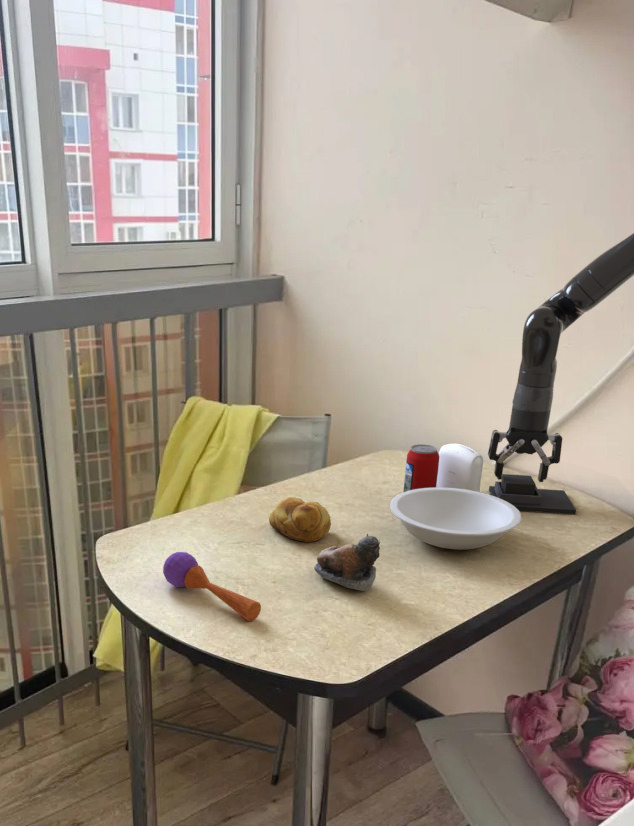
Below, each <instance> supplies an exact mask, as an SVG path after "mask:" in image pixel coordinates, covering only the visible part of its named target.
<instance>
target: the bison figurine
mask: <svg viewBox="0 0 634 826" xmlns="http://www.w3.org/2000/svg"><path fill="white" fill-rule="evenodd" d="M380 545H381V539H378V537H376V536H373V535H369V534H368V533H367V534H366V535H365V536H364V537H362V538H361V539H359V540H358V543H357V544H354V543H348V544H347V543H346V544H345V545H342V546H340V547H338V546H336V545H332V546H330V547H327V548H324V549H322V550H321V551H320V553H319V554H318V555H317V557H316V562H317V563H316V564H315V565H314V569H313V570H314V571H315V573H316V574H317V575H319V576H320V577H321V578H322V579H324V580H327V581H329V582H332V583H335V584H338V585H340V586H343V587H344V588H348V589H352V590H356V591H361V592H364V591H369V590H370V589H371V587H372V585H373V584H374V582H375V580H376V576H377V568H376V566H375V562H376V561H377V559H379V558H380V550H381V546H380Z"/></svg>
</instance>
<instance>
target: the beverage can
mask: <svg viewBox="0 0 634 826" xmlns="http://www.w3.org/2000/svg"><path fill="white" fill-rule="evenodd" d="M439 458H440V457H439V452H438V448H437V447H435V446H434V445H430V444H413V445H412V446H410V449H409V451H408V452H407V453H406V460H405V461H406V462H405V470H404V481H403V482H404V483H403V492H406V491H410V490H414V489H421V488H435V487H436V484H437V476H438V467H439ZM403 492H402V493H403Z"/></svg>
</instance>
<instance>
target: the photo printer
mask: <svg viewBox="0 0 634 826" xmlns="http://www.w3.org/2000/svg"><path fill="white" fill-rule="evenodd" d="M438 454H439V457H440V458H439V467H438V476H437V484H436V487H442V488H458V489H466V490H472V491H477V492H481V491H480V489H481V481H482V475H483V467H484V457H483V455H482V454H481V453H479V452H478V451H477V450H476V449H474V448H472V447H469V446H467V445H464V444H461V443H448V444H444V445H442V446H441V448H440V449H439V452H438Z"/></svg>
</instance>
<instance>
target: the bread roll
mask: <svg viewBox="0 0 634 826" xmlns="http://www.w3.org/2000/svg"><path fill="white" fill-rule="evenodd" d="M268 522H269V525H270V526H271V528H272V529H274V530H275V531H278V532H280V533H281V534H282V535H284V536H286V537H287V538H289V539H291V540H295V541H298V542H304V543H311V542H317V541H319V540H320V539H323V538H324V537H325V536H326V535H327V534H329V532H330V530H331V526H332V520H331V516H330V513H329V511H328V510H327V508H326V507H325V506H323V505H322V504H321V503H319V502H318V501H307V502H305V501H304V500H303V499H302V498H299V497H293V496H290V497H286V498H285V499H283V500H281V501H280V502H279V503H277V505H276V506H275V508H274V509H273V510H271V512H270V513H269V515H268Z"/></svg>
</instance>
